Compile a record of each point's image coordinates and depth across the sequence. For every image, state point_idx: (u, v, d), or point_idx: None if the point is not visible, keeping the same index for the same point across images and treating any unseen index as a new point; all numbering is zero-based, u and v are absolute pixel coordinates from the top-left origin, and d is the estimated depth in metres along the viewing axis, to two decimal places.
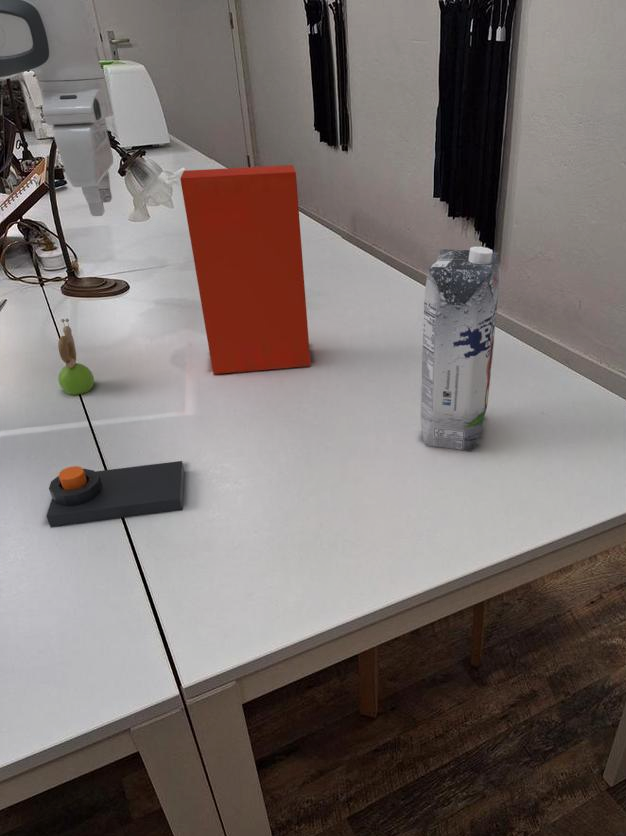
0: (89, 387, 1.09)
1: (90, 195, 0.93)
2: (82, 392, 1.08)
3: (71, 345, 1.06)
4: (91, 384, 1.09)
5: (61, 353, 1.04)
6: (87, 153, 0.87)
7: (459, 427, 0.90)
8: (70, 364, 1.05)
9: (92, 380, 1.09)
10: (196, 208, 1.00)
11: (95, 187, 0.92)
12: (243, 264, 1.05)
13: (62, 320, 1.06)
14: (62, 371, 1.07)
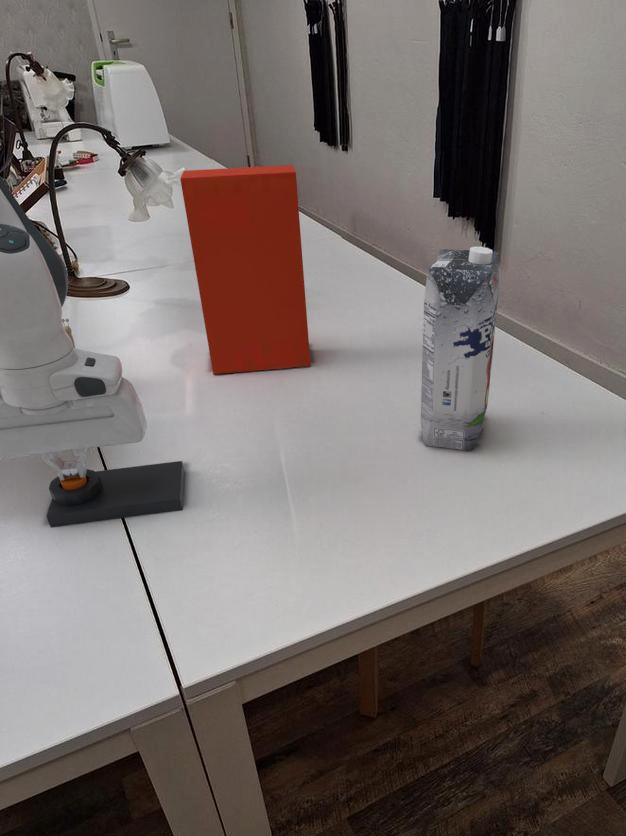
0: None
1: None
2: None
3: None
4: None
5: None
6: (139, 401, 0.80)
7: (458, 427, 0.90)
8: None
9: None
10: (196, 208, 1.00)
11: None
12: (243, 264, 1.05)
13: (62, 320, 1.06)
14: None
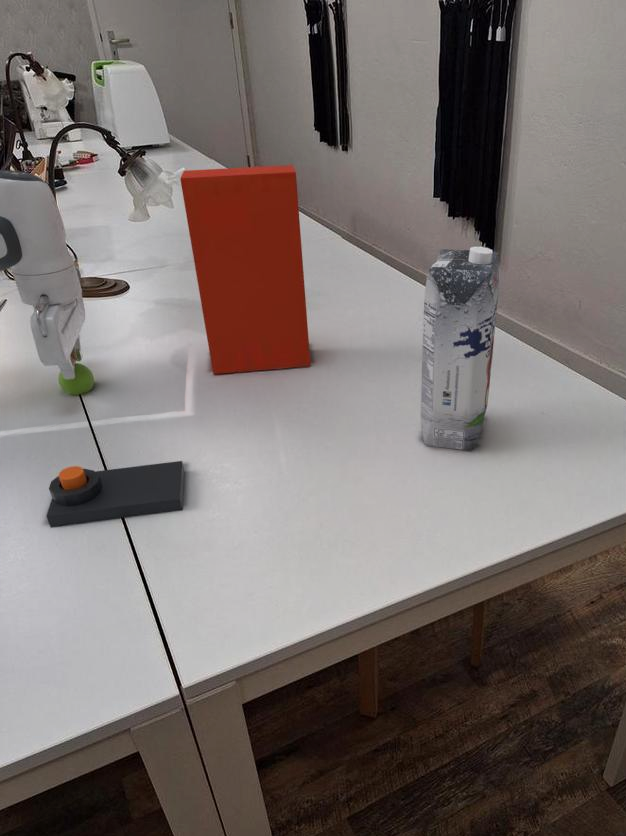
0: (89, 387, 1.09)
1: None
2: (82, 392, 1.08)
3: None
4: (91, 384, 1.09)
5: None
6: None
7: (458, 427, 0.90)
8: None
9: (92, 380, 1.09)
10: (196, 208, 1.00)
11: None
12: (243, 264, 1.05)
13: None
14: None
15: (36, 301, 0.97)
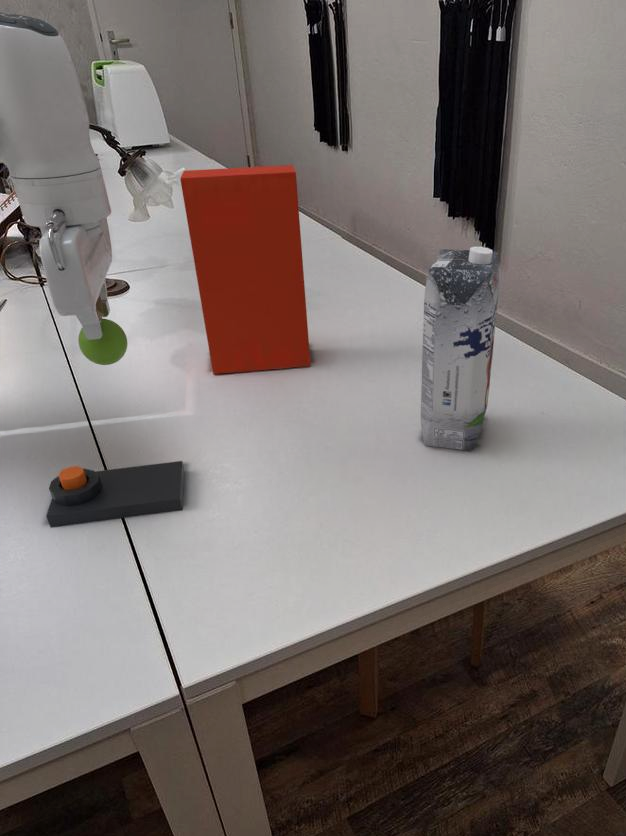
0: (121, 352, 0.77)
1: None
2: (112, 359, 0.77)
3: None
4: (124, 348, 0.78)
5: None
6: None
7: (458, 427, 0.90)
8: None
9: (125, 342, 0.78)
10: (196, 208, 1.00)
11: None
12: (243, 264, 1.05)
13: None
14: None
15: (47, 220, 0.66)
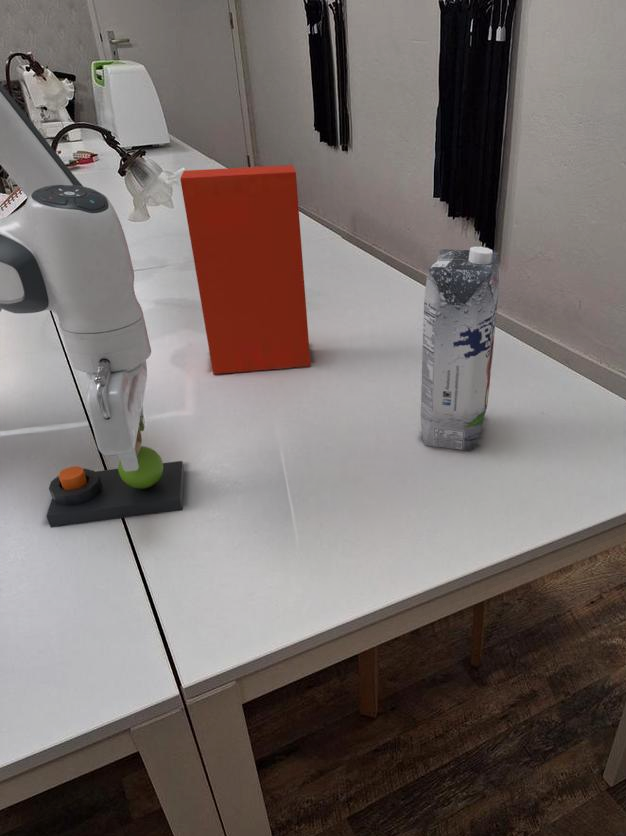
0: (158, 477, 0.83)
1: None
2: (149, 484, 0.82)
3: None
4: (160, 473, 0.83)
5: None
6: None
7: (458, 427, 0.90)
8: None
9: (162, 468, 0.83)
10: (196, 208, 1.00)
11: None
12: (243, 264, 1.05)
13: None
14: None
15: (93, 367, 0.71)
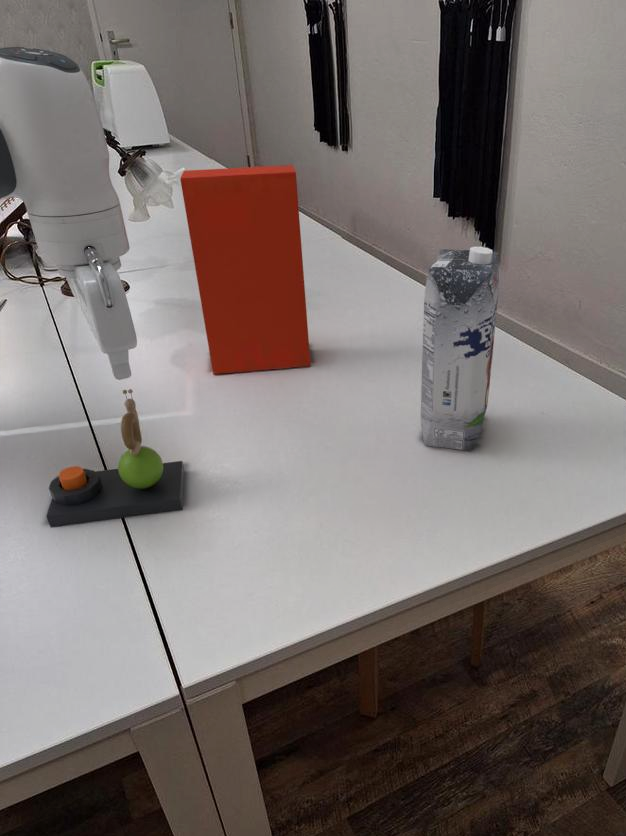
0: (158, 477, 0.83)
1: None
2: (149, 484, 0.82)
3: (136, 424, 0.80)
4: (160, 473, 0.83)
5: (125, 438, 0.78)
6: None
7: (458, 427, 0.90)
8: (135, 451, 0.79)
9: (162, 468, 0.83)
10: (196, 208, 1.00)
11: None
12: (243, 264, 1.05)
13: (124, 391, 0.80)
14: (124, 458, 0.81)
15: (77, 258, 0.64)
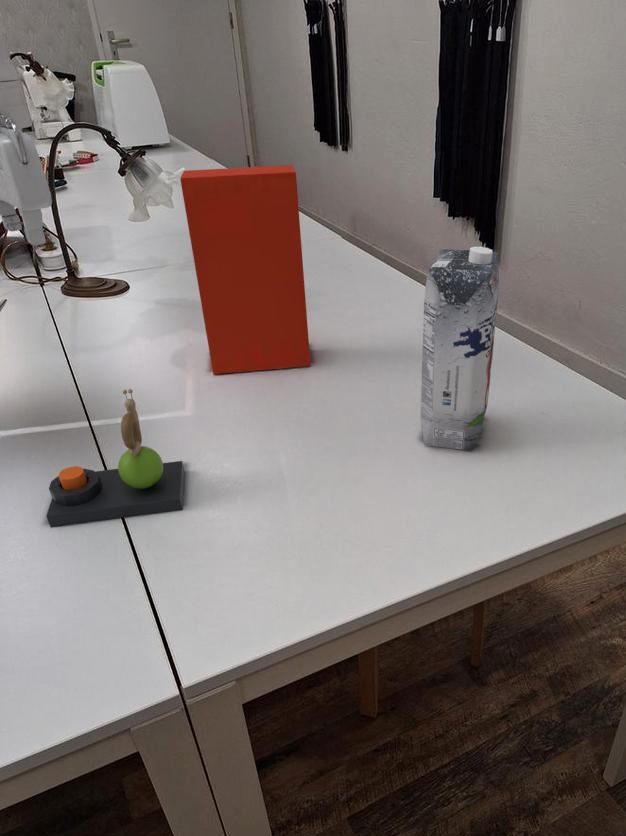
0: (158, 477, 0.83)
1: None
2: (149, 484, 0.82)
3: (136, 424, 0.80)
4: (160, 473, 0.83)
5: (125, 438, 0.78)
6: None
7: (458, 427, 0.90)
8: (135, 451, 0.79)
9: (162, 468, 0.83)
10: (196, 208, 1.00)
11: None
12: (243, 264, 1.05)
13: (124, 391, 0.80)
14: (124, 458, 0.81)
15: None
